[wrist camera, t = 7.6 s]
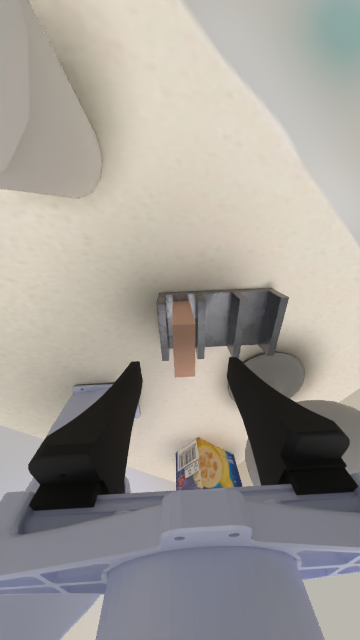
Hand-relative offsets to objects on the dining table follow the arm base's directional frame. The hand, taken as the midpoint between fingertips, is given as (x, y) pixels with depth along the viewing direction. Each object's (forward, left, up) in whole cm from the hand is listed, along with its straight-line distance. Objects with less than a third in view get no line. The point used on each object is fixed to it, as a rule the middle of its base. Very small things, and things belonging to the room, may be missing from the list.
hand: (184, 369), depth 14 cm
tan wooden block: (0, 0, -8) cm, 8 cm away
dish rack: (+4, 0, -9) cm, 10 cm away
